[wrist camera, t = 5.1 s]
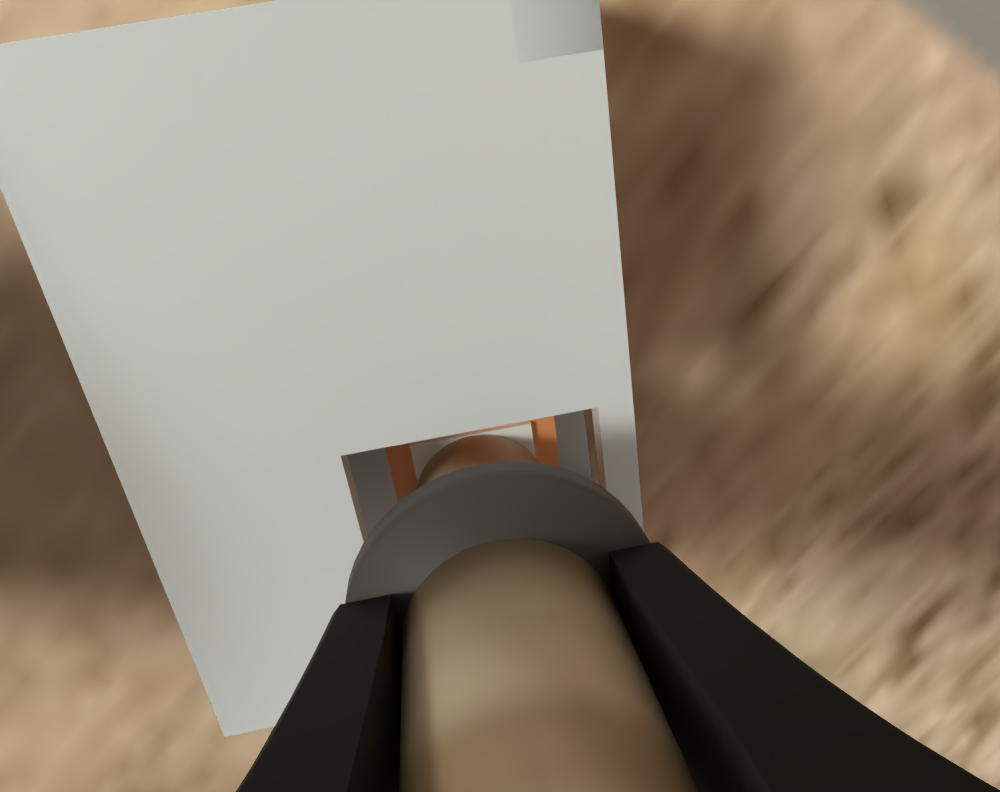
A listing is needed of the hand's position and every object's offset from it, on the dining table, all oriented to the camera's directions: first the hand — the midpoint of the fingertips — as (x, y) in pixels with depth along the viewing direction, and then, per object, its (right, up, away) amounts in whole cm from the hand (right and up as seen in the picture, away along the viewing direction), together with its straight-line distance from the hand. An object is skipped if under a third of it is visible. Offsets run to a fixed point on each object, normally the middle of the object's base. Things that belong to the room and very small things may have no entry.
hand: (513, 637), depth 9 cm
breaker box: (-2, +4, +5) cm, 7 cm away
